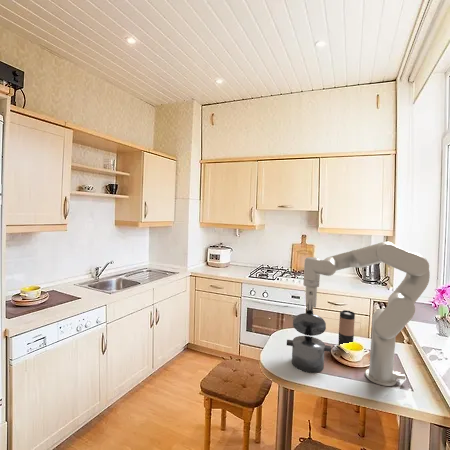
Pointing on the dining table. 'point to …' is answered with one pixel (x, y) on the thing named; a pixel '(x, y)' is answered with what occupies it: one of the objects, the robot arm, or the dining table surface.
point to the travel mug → (346, 326)
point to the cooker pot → (308, 353)
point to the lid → (309, 324)
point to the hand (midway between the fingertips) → (309, 318)
